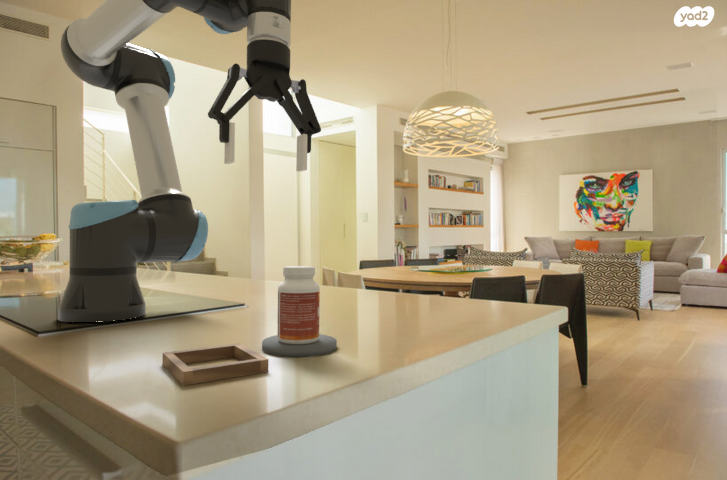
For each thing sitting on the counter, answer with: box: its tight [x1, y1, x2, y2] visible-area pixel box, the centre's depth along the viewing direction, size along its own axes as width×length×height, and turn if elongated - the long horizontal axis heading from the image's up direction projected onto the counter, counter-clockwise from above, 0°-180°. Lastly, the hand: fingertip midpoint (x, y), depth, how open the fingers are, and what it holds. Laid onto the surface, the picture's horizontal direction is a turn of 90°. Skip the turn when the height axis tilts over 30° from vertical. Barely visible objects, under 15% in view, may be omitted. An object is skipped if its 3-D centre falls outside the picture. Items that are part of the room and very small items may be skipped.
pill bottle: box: [277, 265, 321, 345], centre depth 69 cm, size 6×6×11 cm
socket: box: [162, 343, 269, 387], centre depth 58 cm, size 10×10×2 cm
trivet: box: [261, 333, 338, 358], centre depth 69 cm, size 11×11×1 cm
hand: (267, 167), depth 82 cm, fingers open, 13 cm apart
